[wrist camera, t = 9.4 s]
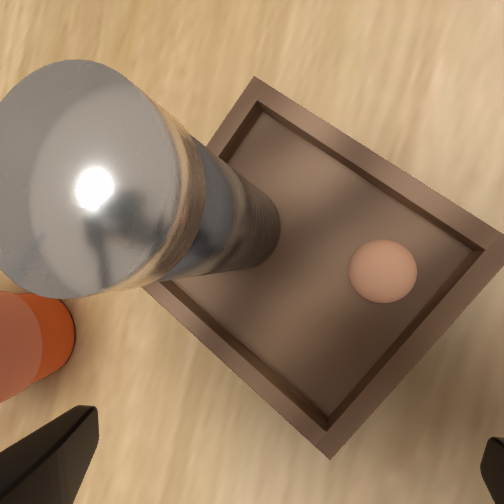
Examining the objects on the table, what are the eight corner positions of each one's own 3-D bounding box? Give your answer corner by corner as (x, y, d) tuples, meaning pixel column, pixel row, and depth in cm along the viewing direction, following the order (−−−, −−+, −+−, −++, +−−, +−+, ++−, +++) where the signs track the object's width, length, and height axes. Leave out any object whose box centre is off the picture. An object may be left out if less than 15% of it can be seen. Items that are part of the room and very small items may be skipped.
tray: (495, 247, 17) (521, 245, 15) (331, 434, 19) (330, 460, 17) (263, 97, 21) (253, 76, 18) (145, 268, 23) (122, 269, 20)
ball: (443, 257, 15) (405, 311, 14) (411, 274, 18) (379, 320, 17) (383, 216, 15) (344, 266, 15) (362, 240, 18) (330, 281, 18)
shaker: (294, 197, 19) (198, 83, 6) (265, 284, 19) (122, 336, 7) (214, 174, 20) (4, 42, 8) (188, 255, 21) (-49, 254, 8)
